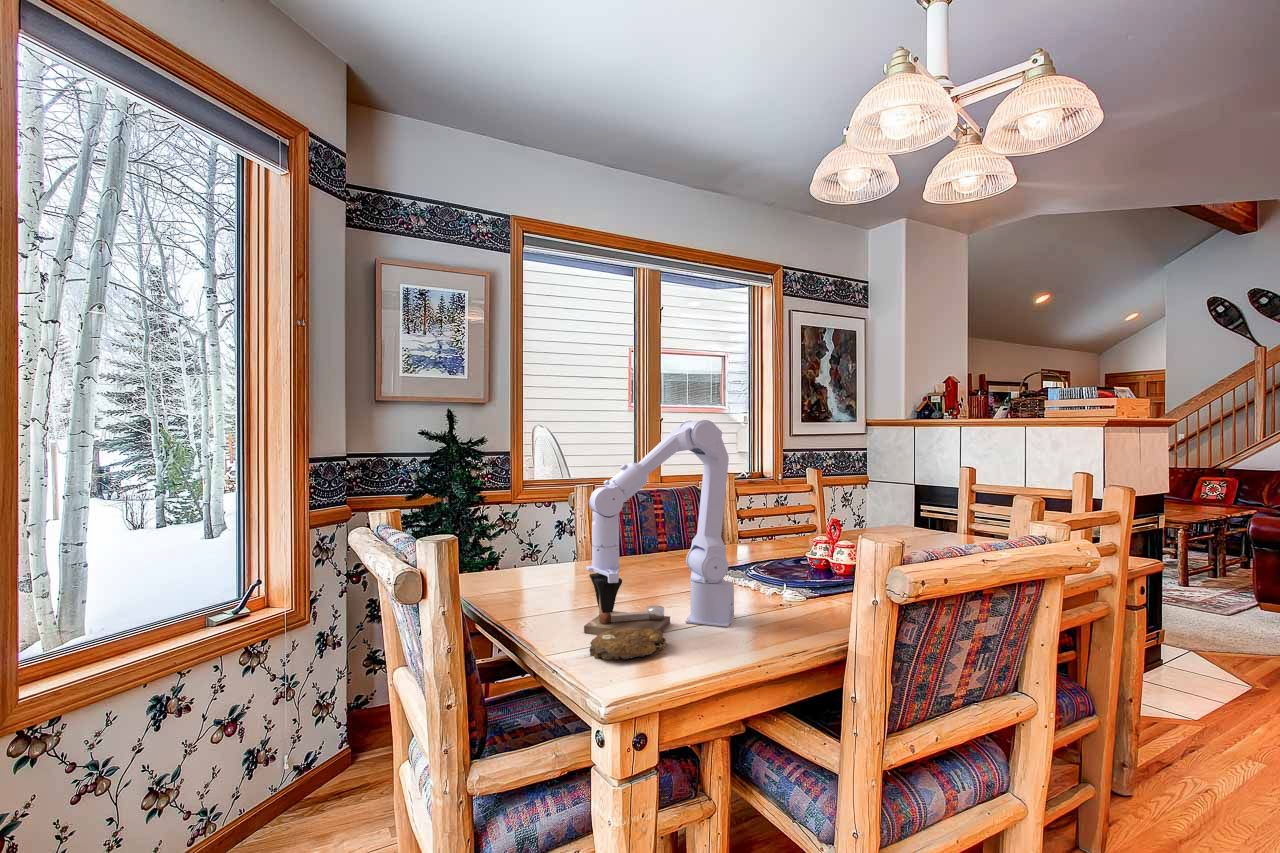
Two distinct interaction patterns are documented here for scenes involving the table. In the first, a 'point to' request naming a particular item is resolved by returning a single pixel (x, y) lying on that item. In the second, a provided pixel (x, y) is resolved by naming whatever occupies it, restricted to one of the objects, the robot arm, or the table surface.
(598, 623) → the board
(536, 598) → the table surface
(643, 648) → the decorative rock
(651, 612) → the lever
